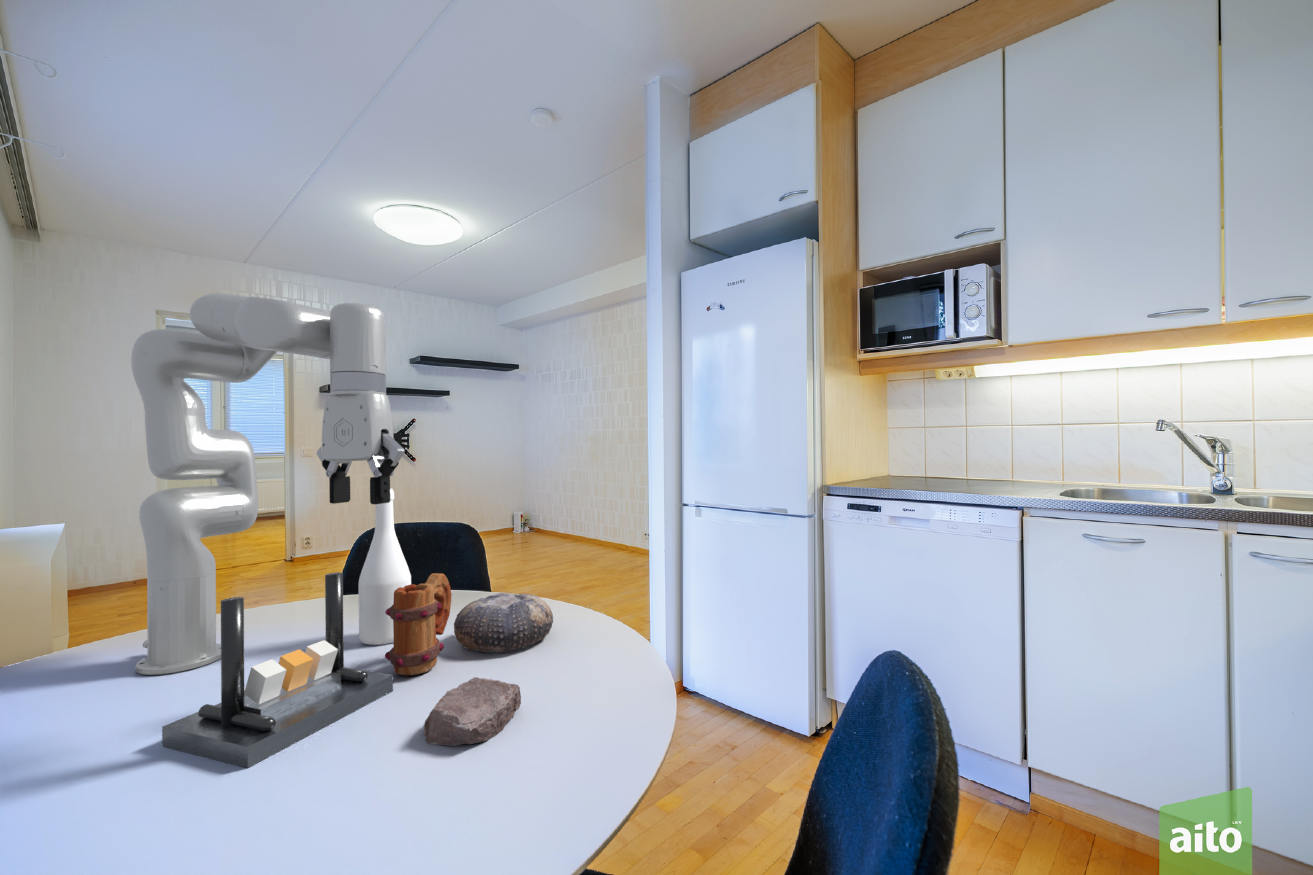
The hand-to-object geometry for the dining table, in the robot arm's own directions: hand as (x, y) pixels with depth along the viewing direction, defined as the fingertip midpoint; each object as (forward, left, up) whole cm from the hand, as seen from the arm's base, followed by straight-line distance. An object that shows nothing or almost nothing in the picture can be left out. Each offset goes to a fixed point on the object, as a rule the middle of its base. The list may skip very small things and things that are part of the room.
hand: (359, 502), depth 84 cm
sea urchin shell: (+5, +29, -30) cm, 42 cm away
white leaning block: (-6, -3, -26) cm, 27 cm away
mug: (-1, +14, -30) cm, 33 cm away
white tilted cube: (-6, -11, -26) cm, 29 cm away
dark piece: (-6, -7, -30) cm, 31 cm away
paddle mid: (-6, -7, -26) cm, 27 cm away
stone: (+22, -1, -30) cm, 37 cm away
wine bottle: (-19, +23, -30) cm, 42 cm away
